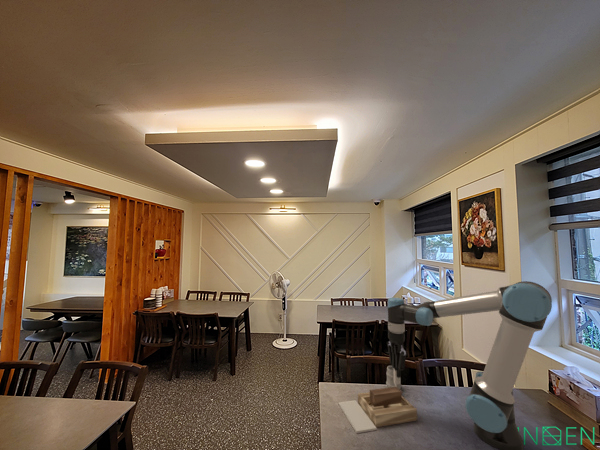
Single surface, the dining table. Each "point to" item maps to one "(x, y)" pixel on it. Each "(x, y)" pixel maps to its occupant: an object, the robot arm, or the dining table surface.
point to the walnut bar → (385, 396)
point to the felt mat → (357, 416)
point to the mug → (391, 378)
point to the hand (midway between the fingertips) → (397, 383)
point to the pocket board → (387, 411)
